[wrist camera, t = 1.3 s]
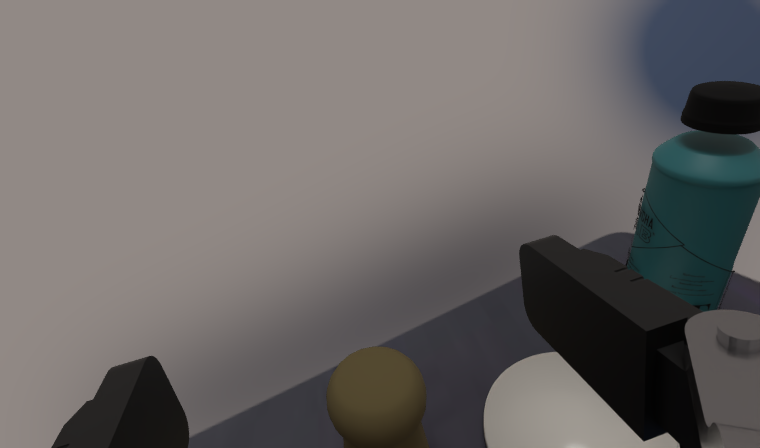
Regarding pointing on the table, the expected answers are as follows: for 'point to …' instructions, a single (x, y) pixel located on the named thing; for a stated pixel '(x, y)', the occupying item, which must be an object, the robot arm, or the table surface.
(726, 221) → the beverage bottle
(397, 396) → the cork
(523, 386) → the saucer
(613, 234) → the table surface
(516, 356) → the table surface
